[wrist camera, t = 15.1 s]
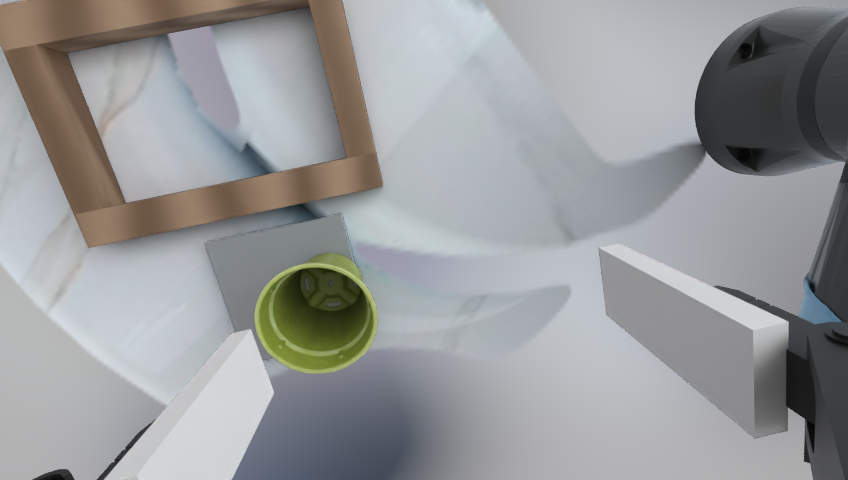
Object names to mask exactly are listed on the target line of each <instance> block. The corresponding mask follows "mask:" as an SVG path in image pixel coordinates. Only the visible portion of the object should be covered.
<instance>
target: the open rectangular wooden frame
mask: <svg viewBox="0 0 848 480" xmlns="http://www.w3.org/2000/svg"><path fill="white" fill-rule="evenodd" d="M305 7H310V9H311V13H312V17H313V22H314V26H315V30H316V34H317V38H318V42H319V46H320V50H321V54H322V59H323V63H324V67H325V71H326V75H327V79H328V83H329V87H330V91H331V96H332V100H333V104H334V108H335V112H336V116H337V120H338V124H339V128H340V133H341V137H342V141H343V145H344V149H345V153H346V157H347V158H343V159H338V160H333V161H328V162H324V163H319V164H314V165H309V166H304V167H299V168H294V169H289V170H285V171H280V172H275V173H270V174H265V175H260V176H255V177H251V178H246V179H241V180H236V181H231V182H226V183H221V184H217V185H212V186H207V187H202V188H197V189H192V190H187V191H183V192H178V193H173V194H168V195H163V196H158V197H153V198H148V199H144V200H139V201H134V202H129V203H126V202H125V200H124V197H123V195H122V192H121V189H120V187H119V184H118V182H117V179H116V177H115V174H114V172H113V169H112V167H111V164H110V162H109V159H108V157H107V154H106V152H105V149H104V147H103V144H102V141H101V139H100V136H99V134H98V131H97V129H96V126H95V124H94V121H93V119H92V116H91V114H90V111H89V109H88V106H87V104H86V101H85V98H84V96H83V93H82V91H81V88H80V86H79V83H78V81H77V78H76V76H75V73H74V71H73V68H72V66H71V63H70V61H69V58H68V55H67V53H68V52H73V51H79V50H84V49H89V48H95V47H100V46H105V45H110V44H116V43H121V42H126V41H131V40H137V39H142V38H147V37H152V36H158V35H163V34H168V33H173V32H178V31H184V30H189V29H193V28H200V27H205V26H210V25H215V24H221V23H226V22H231V21H236V20H242V19H247V18H252V17H257V16H263V15H268V14H273V13H278V12H284V11H289V10H294V9H299V8H305ZM0 45H1V47H2V50H3V52H4V54H5V56H6V59H7V61H8V63H9V66H10V68H11V70H12V73H13V75H14V77H15V80H16V82H17V84H18V86H19V89H20V91H21V93H22V96H23V98H24V100H25V103H26V105H27V107H28V110H29V112H30V114H31V117H32V119H33V121H34V123H35V126H36V128H37V130H38V133H39V135H40V137H41V140H42V142H43V144H44V147H45V149H46V151H47V153H48V156H49V158H50V160H51V163H52V165H53V167H54V170H55V172H56V174H57V177H58V179H59V181H60V184H61V186H62V188H63V190H64V193H65V195H66V197H67V200H68V202H69V204H70V207H71V209H72V211H73V214H74V216H75V218H76V220H77V223H78V225H79V227H80V230H81V232H82V234H83V237H84V239H85V241H86V244H87V246H88V248H91V247H96V246H100V245H105V244H110V243H115V242H119V241H124V240H129V239H134V238H139V237H143V236H148V235H153V234H158V233H162V232H167V231H172V230H177V229H182V228H186V227H191V226H196V225H201V224H206V223H210V222H215V221H220V220H225V219H229V218H234V217H239V216H244V215H249V214H253V213H258V212H263V211H268V210H272V209H277V208H282V207H287V206H292V205H296V204H301V203H306V202H311V201H315V200H320V199H325V198H330V197H335V196H339V195H344V194H349V193H354V192H359V191H363V190H368V189H373V188H378V187H382V186H383V181H382V177H381V172H380V168H379V163H378V159H377V154H376V150H375V145H374V141H373V136H372V132H371V127H370V123H369V119H368V114H367V110H366V105H365V101H364V96H363V92H362V87H361V83H360V78H359V74H358V69H357V65H356V60H355V56H354V51H353V47H352V43H351V38H350V34H349V29H348V25H347V20H346V16H345V11H344V7H343V2H342V0H25V1H19V2H14V3H9V4H3V5H0Z"/></svg>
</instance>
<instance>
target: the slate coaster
mask: <svg viewBox="0 0 848 480" xmlns="http://www.w3.org/2000/svg"><path fill="white" fill-rule="evenodd" d="M204 244H205V247H206V250H207V253H208V256H209V259H210V261H211V264H212V267H213V270H214V273H215V276H216V278H217V281H218V284H219V287H220V290H221V293H222V295H223V298H224V301H225V304H226V307H227V310H228V312H229V315H230V318H231V321H232V324H233V327H234V329H235V332H240V331H244V330H248V329H251V331H252V333H253V336H254V339H255V342H256V344H257V347H258V350H259V352H260V355H261V358H262V360H267V359H271V358H273V357H272V356H271V355H270V354H269V353H268V352H267V351H266V349H265V348H264V347H263V345H262V343H261V341H260V339H259V337H258V335H257V331H256V327H255V319H254V315H255V307H256V303H257V300H258V298H259V296H260V294H261V292H262V290H263V289H264V287H265V286H266V285H267V284H268V283H269V282H270V281H271V280H272V279H273V278H274V277H275V276H277V275H278V274H279V273H281V272H283V271H284V270H286V269H288V268H291V267H293V266H296V265H300V264H304V263H306V262H308V261H309V260H310V259H312V258H313V257H315V256H317V255H320V254H324V253H336V254H340V255H343V256H345V257H347V258H348V259H350V260H351V261H352V262H353V263H354V264H355V261H354V258H353V254H352V250H351V246H350V242H349V238H348V234H347V230H346V226H345V222H344V218H343V214H342V213H338V214H333V215H329V216H324V217H319V218H314V219H310V220H305V221H300V222H295V223H291V224H286V225H281V226H276V227H272V228H267V229H262V230H257V231H253V232H248V233H243V234H238V235H234V236H229V237H224V238H220V239H215V240H210V241H207V242H206V243H204ZM328 283H329V285H330V286H333V282H332V281H329V282H328ZM305 285H306V290H308V291H309V290H310V289H309V282H308V278H305ZM354 286H355V287H356V286H357V283H355V282H354ZM340 304H341V303H340V302H337V303H327V305H328V306H339V305H340Z"/></svg>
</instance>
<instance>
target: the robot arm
mask: <svg viewBox="0 0 848 480" xmlns="http://www.w3.org/2000/svg"><path fill="white" fill-rule="evenodd" d="M695 122H696V127H697V132H698V135H699V138H700V141H701V143H702V145H703V147H704V148H705V150H706V151H707V153H708V154H709V155H710V156H711V157H712V159H714V160H715V161H716V162H717V163H718V164H719V165H721V166H723V167H724V168H726V169H728V170H730V171H733V172H736V173H740V174H749V175H759V176H776V175H783V174H788V173H793V172H796V171H801V170H805V169H809V168H814V167H818V166H822V165H826V164H831V163H835V162H839V161H842V162H843V161H844V162H846V163H845V166H844V169H843V173H842V176H841V179H840V181H839V184H838V187H837V190H836V193H835V197H834V200H833V203H832V206H831V209H830V212H829V215H828V219H827V222H826V225H825V228H824V231H823V234H822V237H821V240H820V243H819V246H818V249H817V252H816V255H815V258H814V261H813V263H812V266H811V269H810V272H809V273H808V274H807V275H806V277H805V279H804V289H805V291H804V296H803V300H802V304H801V308H800V312H799V316H795V315H793V314H791V313H789V312H786V311H784V310H782V309H779V308H777V307H775V306H770V305H769V304H768V303H766V302H764V301H761V300H756V299H755V298H754V297H752V296H750V295H747V294H745V293H743V292H741V291H739V290H734V289H730V288H725V287H720V286H710V285H708V284H706V283H704V282H702V281H700V280H698V279H695V278H693V277H691V276H689V275H687V274H685V273H682V272H680V271H678V270H676V269H674V268H672V267H669V266H667V265H665V264H663V263H661V262H659V261H656V260H654V259H652V258H650V257H648V256H646V255H644V254H641V253H639V252H637V251H635V250H633V249H630V248H628V247H626V246H624V245H622V244H620V243H616V244H612V245H608V246H604V247H599V256H600V265H601V274H602V282H603V291H604V299H605V307H606V315H607V316H608V317H610V318H611V319H612V320H613V321H615V322H616V323H617V324H618V325H619V326H621V327H622V328H623V329H624V330H625V331H626V332H628V333H629V334H630V335H631V336H632V337H634V338H635V339H636V340H637V341H638V342H640V343H641V344H642V345H643V346H645V347H646V348H647V349H648V350H649V351H650V352H652V353H653V354H654V355H655V356H656V357H658V358H659V359H660V360H661V361H662V362H664V363H665V364H666V365H667V366H668V367H670V368H671V369H672V370H673V371H674V372H676V373H677V374H678V375H679V376H680V377H682V378H683V379H684V380H685V381H686V382H687V383H689V384H690V385H691V386H692V387H694V388H695V389H696V390H697V391H698V392H700V393H701V394H702V395H703V396H704V397H706V398H707V399H708V400H709V401H710V402H712V403H713V404H714V405H715V406H716V407H718V408H719V409H720V410H721V411H722V412H723V413H725V414H726V415H727V416H728V417H730V418H731V419H732V420H733V421H734V422H735V423H737V424H738V425H739V426H740V427H741V428H743V429H744V430H745V431H746V432H747V433H749V434H750V435H751V436H752V437H753V438H759V437H764V436H768V435H772V434H776V433H780V432H785V431H787V430H788V408H790V409H791V410H793V411H794V412H796V413H798V414H799V415H800V416H802V417H803V418H805V446H804V462H808V463H810V464H811V470H812V475H813V480H848V8H824V7H796V8H790V9H785V10H781V11H778V12H775V13H772V14H769V15H765V16H763V17H759V18H757V19H754V20H752V21H750V22H748V23H746V24H744V25H743V26H741V27H740V28H738V29H737V30H736V31H734V32H733V33H732V34H731V35H730V36H728V37H727V38H726V39H725V40H724V41H723V42H722V43H721V45H720V46H719V47H718V48H717V50H716V51H715V52H714V54H713V55H712V57H711V58H710V60H709V62H708V63H707V65H706V67H705V69H704V72H703V74H702V76H701V79H700V82H699V85H698V89H697V93H696V100H695ZM273 394H274V391H273V388H272V385H271V383H270V380H269V377H268V374H267V372H266V369H265V366H264V363H263V361H262V358H261V355H260V352H259V350H258V347H257V344H256V342H255V339H254V336H253V333H252V331H251V329H248V330H244V331H240V332H235V333H231V334H230V335H229V336H228V337H227V338H226V339H225V340H224V342H223V343H222V344H221V345H220V346H219V347H218V349H217V350H216V351H215V352H214V353H213V354H212V355H211V357H210V358H209V359H208V360H207V361H206V362H205V364H204V365H203V366H202V367H201V368H200V369H199V370H198V372H197V373H196V374H195V375H194V376H193V377H192V379H191V380H190V381H189V382H188V383H187V384H186V385H185V387H184V388H183V389H182V390H181V391H180V392H179V394H178V395H177V396H176V397H175V398H174V399H173V400H172V402H171V403H170V404H169V405H168V406H167V407H166V409H165V410H164V411H163V412H162V413H161V414H160V416H159V417H158V418H157V419H155V420H154V421H153V422H152V423H150V424H149V425H148V426H146V427H145V428H144V429H143V430H142V431H140V432H139V433H138V434H137V435H136V436H135V437H134V439H133V440H132V441H131V442H130V443H129V444H128V445H127V447H126V450H123V451H122V452H121V453H120V454H119V456H117V458H116V459H115V462H113V463H111V464H110V465H109V467H108V468H107V469H106V470H105V471H104V472H103V473H102V475H101V476H100V477H99V478H98V479H97V480H232V478H233V476H234V473H235V472H236V469H237V468H238V465H239V464H240V461H241V459H242V457H243V455H244V453H245V451H246V449H247V447H248V445H249V443H250V441H251V439H252V437H253V435H254V433H255V431H256V429H257V427H258V425H259V423H260V421H261V419H262V417H263V415H264V413H265V410H266V408H267V406H268V404H269V402H270V400H271V398H272V396H273ZM33 480H74V478H73V476H72V474H71V473H70V472H69V470H66V469H59V470H55V471H52V472H49V473H46V474H43V475H41V476H39V477H37V478H35V479H33Z"/></svg>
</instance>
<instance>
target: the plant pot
mask: <svg viewBox="0 0 848 480" xmlns="http://www.w3.org/2000/svg"><path fill="white" fill-rule="evenodd" d="M305 278H308V282H309V289H310V290H309V291H308V290H306V285H305ZM329 281H332V282H333V286H330V285H329V283H328V282H329ZM354 282H355V283H357V286H356V287H355V286H354ZM337 302H340V303H341V304H340V305H339V306H328V305H327V303H337ZM254 319H255V327H256V331H257V335H258V337H259V339H260V341H261V343H262V345H263V347H264V348H265V349H266V351H267V352H268V353H269V354H270V355H271V356H272V357H273V358H274V359H276V360H277V361H278V362H279V363H281V364H283V365H284V366H286V367H288V368H290V369H293V370H296V371H300V372H304V373H311V374H321V373H330V372H334V371H338V370H340V369H343V368H345V367H347V366H349V365H351V364H352V363H354V362H355V361H357V360H358V359H359V358H360V357H361V356H362V355H364V354H365V353H366V351H367V350H368V349H369V347H370V346H371V344H372V342H373V340H374V338H375V335H376V331H377V326H378V314H377V308H376V304H375V301H374V299H373V297H372V295H371V293H370V291H369V290H368V288H367V287H366V286H365V284H364V283H363V279H362V275H361V272H360V270H359V268H358V267H357V266H356V265H355V264H354V263H353V262H352V261H351V260H350V259H348V258H347V257H345V256H343V255H340V254H336V253H324V254H320V255H317V256H315V257H313V258H312V259H310V260H309V261H308V262H306V263H304V264H300V265H296V266H293V267H291V268H288V269H286V270H284V271H283V272H281V273H279V274H278V275H277V276H275V277H274V278H273V279H272V280H271V281H270V282H269V283H268V284H267V285H266V286H265V287H264V289H263V290H262V292H261V294H260V296H259V298H258V300H257V303H256V307H255V315H254Z"/></svg>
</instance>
